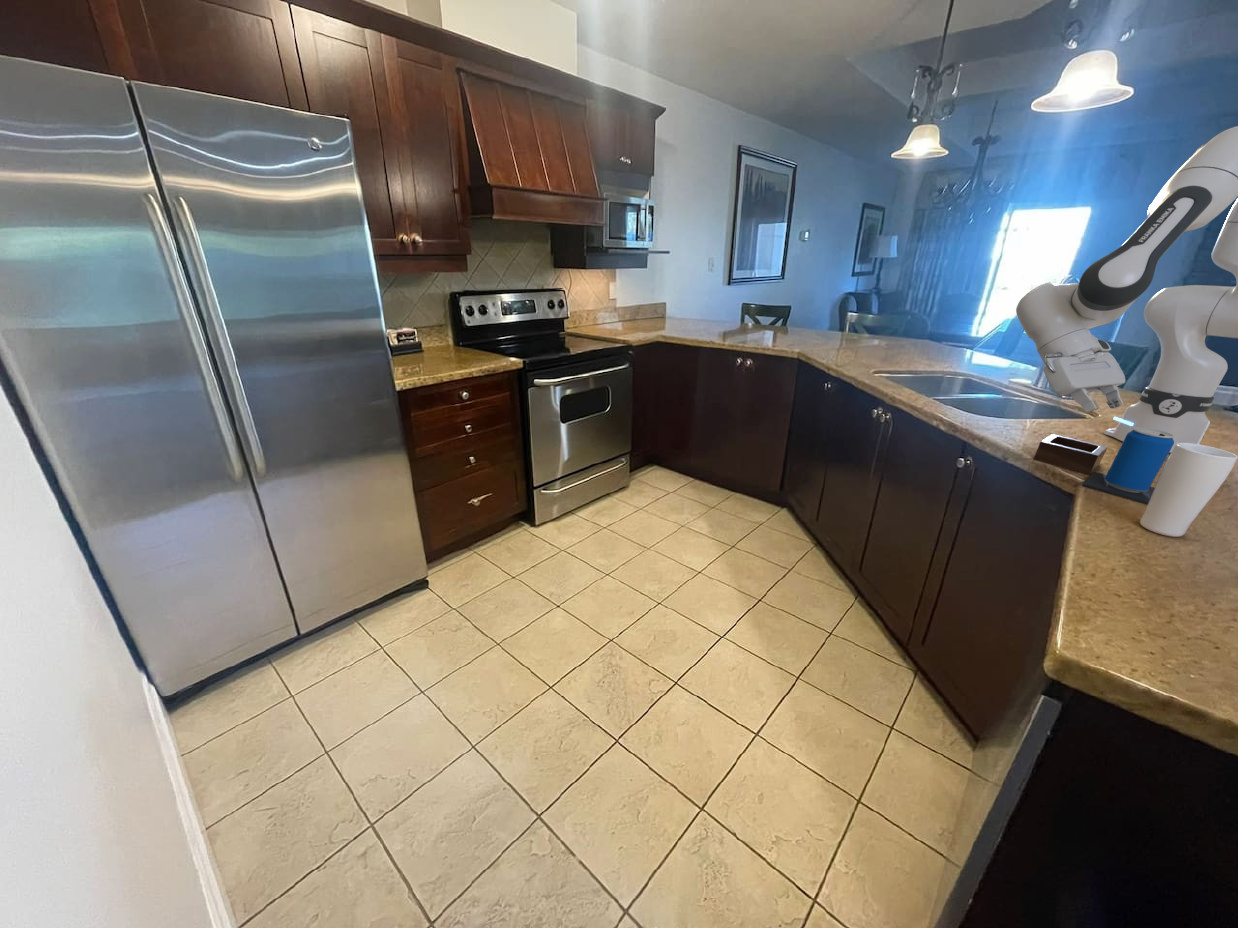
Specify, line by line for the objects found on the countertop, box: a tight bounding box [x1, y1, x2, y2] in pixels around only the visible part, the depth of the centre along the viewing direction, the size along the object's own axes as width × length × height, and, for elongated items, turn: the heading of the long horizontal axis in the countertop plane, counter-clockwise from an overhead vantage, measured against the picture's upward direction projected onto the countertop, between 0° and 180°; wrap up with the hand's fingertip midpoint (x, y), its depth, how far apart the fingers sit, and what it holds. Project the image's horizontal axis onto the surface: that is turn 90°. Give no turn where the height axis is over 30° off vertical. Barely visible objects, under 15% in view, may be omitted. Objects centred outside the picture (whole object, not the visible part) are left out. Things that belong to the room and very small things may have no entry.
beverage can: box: [1105, 427, 1174, 493], centre depth 94 cm, size 6×6×12 cm
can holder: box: [1032, 433, 1108, 475], centre depth 109 cm, size 10×10×4 cm
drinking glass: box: [1139, 443, 1238, 538], centre depth 79 cm, size 7×7×15 cm
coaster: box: [1081, 471, 1155, 505], centre depth 97 cm, size 11×11×1 cm
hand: (1105, 408), depth 98 cm, fingers open, 8 cm apart
